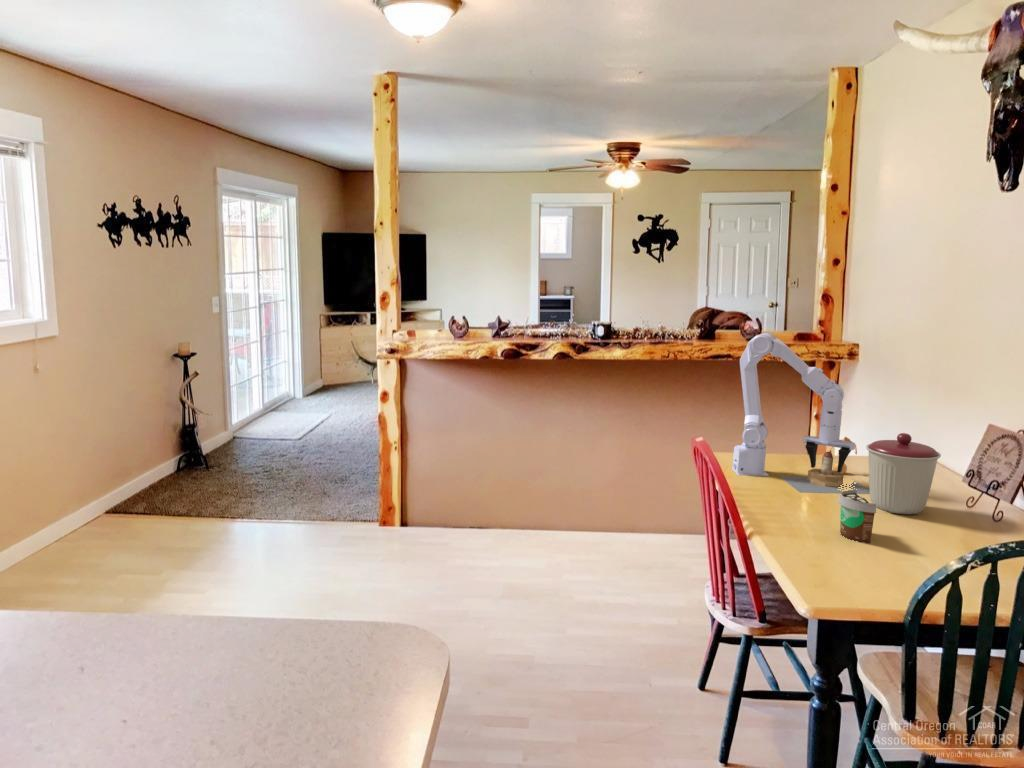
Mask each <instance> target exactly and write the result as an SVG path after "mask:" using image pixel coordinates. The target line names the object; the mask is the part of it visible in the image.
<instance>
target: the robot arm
mask: <svg viewBox="0 0 1024 768" xmlns="http://www.w3.org/2000/svg"><path fill="white" fill-rule="evenodd" d="M768 354H770V355H769V356H770V357H775V358H781V359H782V360H783V361H784V362H786V363H787V364H788V365H789V366H790V367H792V368H793V369H794V370H795V371H796V372H798V373H799V375H800V374H801V375H800V376H801V381H802V383H804V384H805V385H806V386H807V387H809V389H810V390H812V391H813V392H814V393H815V394H816V395H818V396H820V398H821V401H822V408H821V410H820V411H821V412H820V420H819V434H818V436H813V435H804V436H803V437H802V443H804V444H805V450H806V451H807V453H808V456H809V461H810V467H811V468H812V469H815V467H816V465H817V454H818V453H817V451H818V446H826V447H831V448H832V447H833V448H839V449H838V453H839V454H838V461H839V463H838V470H837V472H841V471H842V468H843V465H844V463H845V462H846V460H847V458H848V456H849V454H851V451H855V444H856V442H854V441H852V442H848V441H843V440H842V439H840V436H841V425H842V415H843V411H842V409H843V400H844V397H845V392H844V390H843V388H842V387H841V385H840V384H838V383H836V381H835V380H832V379H830V378H829V377H828V376H827V375H826V374H825V373H823V372H824V369H822V368H820V367H819V368H818V367H816V366H809V365H808V364H807V363H806V362H805V361H804V360H802V359H801V357H800V356H798V355H797V353H796V352H794V351H793V350H792V349H791V348H790V347H789V346H788V345H787V344H785V342H783V341H782V340H781V339H779V338H777V337H776V336H775V335H774V334H773V333H770V332H763V333H760V334H757V335H754V337H752V338H751V339H750V340H749V341H748V342H747V345H746V347H745V349H744V351H743V353H742V354H741V356H740V359H739V368H740V377H741V378H740V379H741V387H742V399H743V409H744V423H743V427H744V429H743V432H742V434H741V438H742V441H743V442H742V444H739V445H738V444H736V445H735V446H734V448H733V455H732V466H731V470H732V471H734V473H736V475H738V476H754V477H755V476H757V477H758V476H761V477H763V476H765V477H769V476H770V475H769V473H767V472H766V471H765V469H766V468H765V467H766V457H767V455H766V454H767V444H766V442H765V440H766V439H767V437H768V435H769V430H768V427H767V426H766V425H765V421H764V416H763V414H762V407H761V396H760V387H759V375H758V368H757V367H758V363H759V362H760V361H761V360H762V359H763V358H764V356H766V355H768ZM840 448H841V449H840Z"/></svg>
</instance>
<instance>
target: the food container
mask: <svg viewBox="0 0 1024 768" xmlns="http://www.w3.org/2000/svg"><path fill="white" fill-rule="evenodd" d="M837 503H838V504H839V505H840V516H839V517H840V526H839V527H840V529H839V530H840V531H839V533H841V534H840V536H841V535H842V536H841V537H843V536H844V537H845V538H844V537H843V538H844V539H846V538H847V540H849V539H850V540H849V541H852V540H854V541H853V542H856V541H858V543H862V542H865V543H864V544H871V539H872V532H873V528H874V527H873V526H874V519H875V514H876V513H877V507H876V504H873V503H872V502H871V503H870V502H869V501H868V500H867V499H866V498H864V497H862V496H860V495H859V494H857V490H848V491H843V492H842V493H840V495H839V497H838V500H837Z"/></svg>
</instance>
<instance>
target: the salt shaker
mask: <svg viewBox="0 0 1024 768" xmlns="http://www.w3.org/2000/svg"><path fill="white" fill-rule="evenodd" d="M821 458H822V459H821V468H820V469H821V474H825V475H831V473H832V470H833V466H834V455H833V453H832V452H831V451H825V452H824V454H823V455H822V457H821Z"/></svg>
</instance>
